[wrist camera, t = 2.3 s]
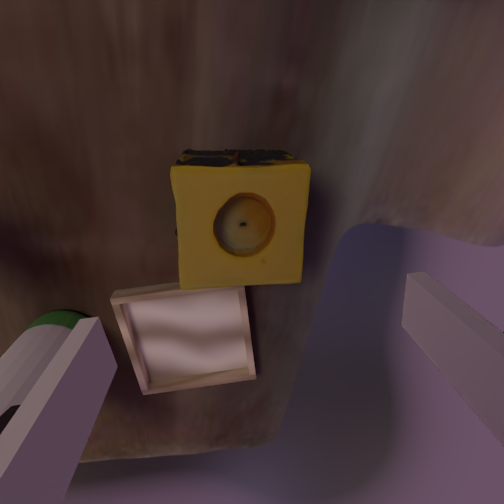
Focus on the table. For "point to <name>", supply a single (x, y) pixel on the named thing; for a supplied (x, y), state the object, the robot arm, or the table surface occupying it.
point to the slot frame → (185, 335)
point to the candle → (240, 217)
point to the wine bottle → (33, 355)
